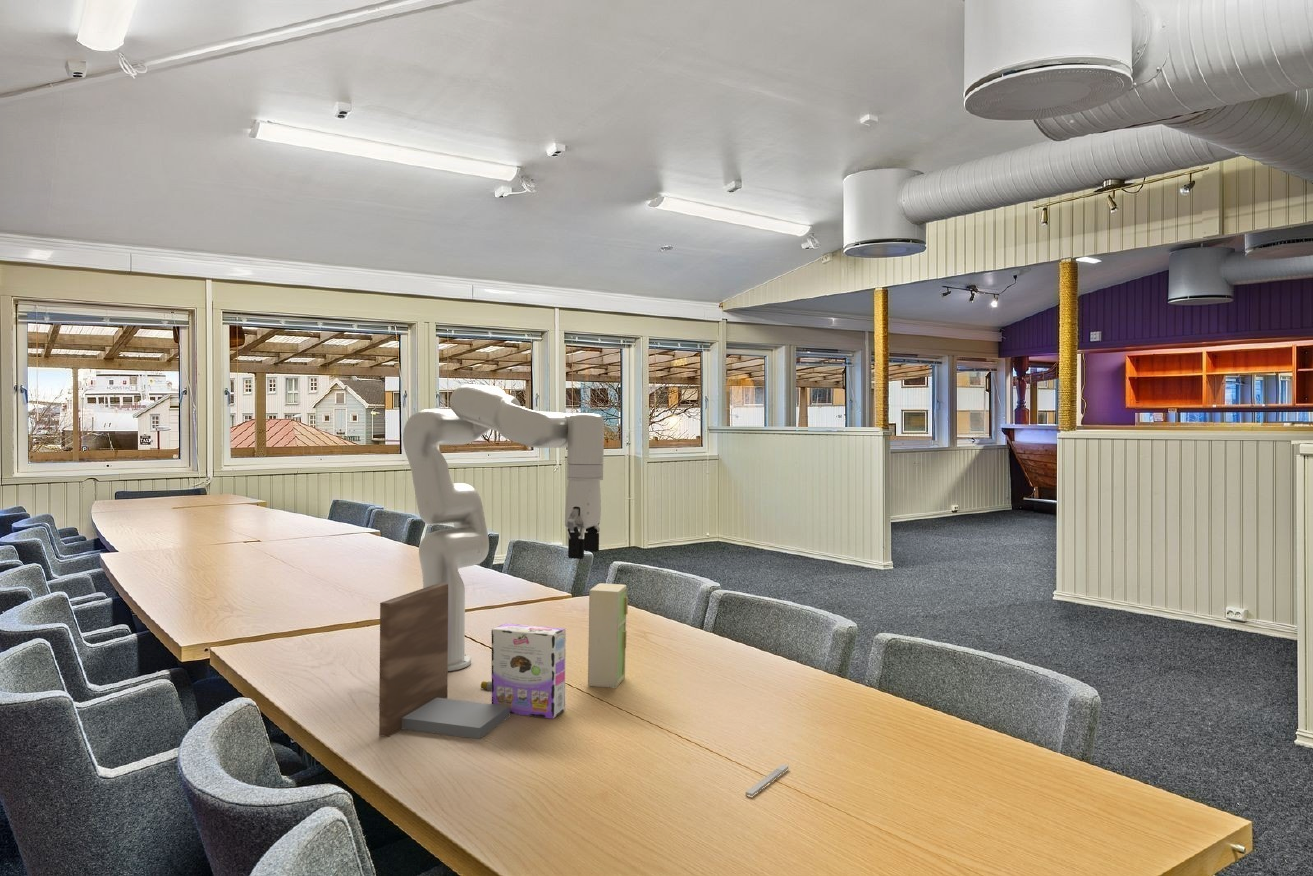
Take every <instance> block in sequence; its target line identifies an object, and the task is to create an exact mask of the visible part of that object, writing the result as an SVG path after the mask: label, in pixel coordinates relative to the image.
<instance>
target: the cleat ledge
mask: <svg viewBox="0 0 1313 876" xmlns="http://www.w3.org/2000/svg"><path fill="white" fill-rule="evenodd" d="M509 716H510V717H511V713H510V706H505V705H497V704H492V703H488V702H487V703H486V702H479V701H470V700H461V699H453V698H447V699H446V698H435V699H433V700H432V701H430V702H428V703H426V704H425V705H423V706H421V707H420V708H418V709H416V710H415V711H413V712H411V713H409V714H408V715H406V716H404V717H403V718H402V729H401V730H408V731H415V732H416V731H417V732H424V733H429V734H430V733H431V734H437V735H439V734H440V735H445V736H446V735H447V736H453V737H454V736H455V737H460V738H468V737H469V739H477V740H480V739H482V738H483V737H484V736H486V735H487V734H488V733H490V732H491V731H492V730H493V728H494V729H495V728H496V727H497V725H498V726H499V725H500V724H502V723H503V722H504V721H506V720H507V719H508V718H510V717H509ZM505 719H506V720H505ZM481 737H482V738H481Z"/></svg>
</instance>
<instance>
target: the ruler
mask: <svg viewBox="0 0 1313 876" xmlns="http://www.w3.org/2000/svg"><path fill="white" fill-rule="evenodd" d="M787 769H788V770H789V765H786V764H781V765H780V766H778V767H777V768H776V769H774V770H772V771H771V772H770V773H769V774H767V775H766V776H765V777H763V778H762V779H761V780H759V781H758V782H757V783H756V784H754V785H753V786H752V787H750V788H749V789H748V790H746V791H745V795H746V794H747V795H750V796H753V795H754V794H755V793H757V792H759V791H760V790H761V789H762V788H763V787H765V786H766V785H767V784H768V783H771V782H772V781H773V780H774V779H775V778H777V777H778V776H779V775H780V774H782V773H783V772H785V771H786V770H787ZM785 773H786V772H785ZM777 779H778V778H777ZM772 783H773V782H772ZM772 783H771V784H772ZM759 793H760V792H759Z"/></svg>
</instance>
